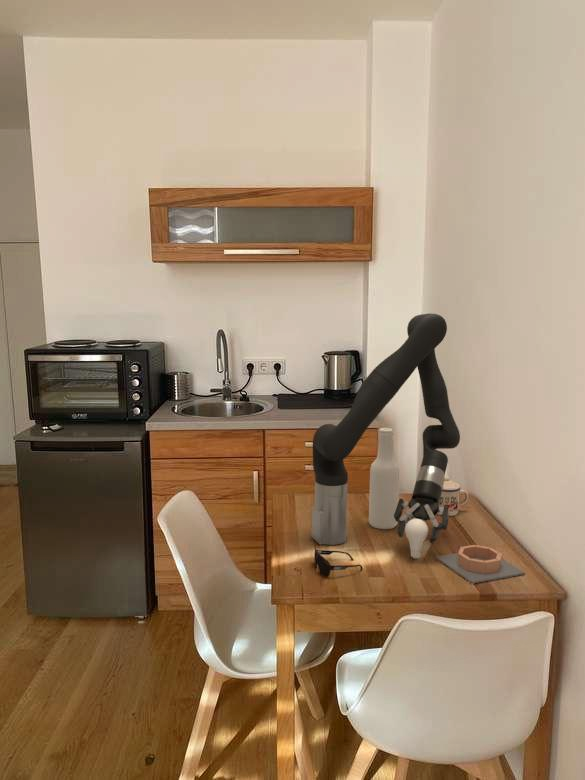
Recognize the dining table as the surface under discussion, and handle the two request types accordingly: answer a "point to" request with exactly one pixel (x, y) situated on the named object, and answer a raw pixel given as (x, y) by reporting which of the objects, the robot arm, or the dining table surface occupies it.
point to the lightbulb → (416, 536)
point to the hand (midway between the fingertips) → (415, 538)
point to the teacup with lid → (451, 496)
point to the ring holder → (479, 564)
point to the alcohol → (384, 484)
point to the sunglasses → (324, 564)
